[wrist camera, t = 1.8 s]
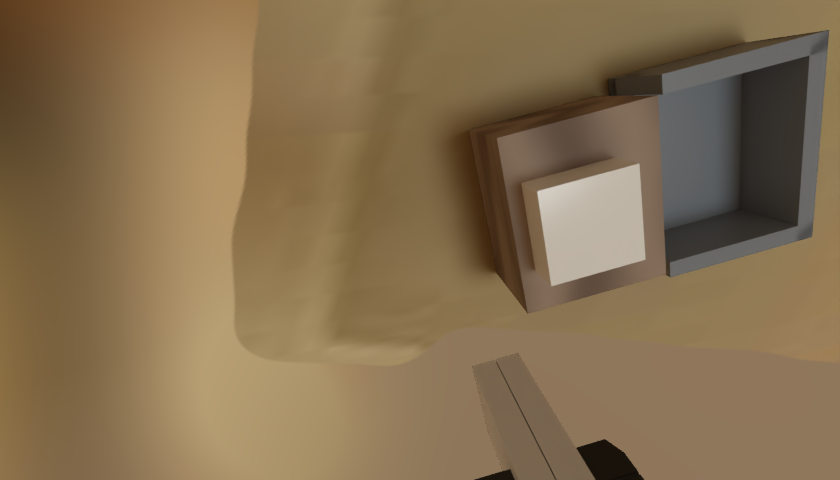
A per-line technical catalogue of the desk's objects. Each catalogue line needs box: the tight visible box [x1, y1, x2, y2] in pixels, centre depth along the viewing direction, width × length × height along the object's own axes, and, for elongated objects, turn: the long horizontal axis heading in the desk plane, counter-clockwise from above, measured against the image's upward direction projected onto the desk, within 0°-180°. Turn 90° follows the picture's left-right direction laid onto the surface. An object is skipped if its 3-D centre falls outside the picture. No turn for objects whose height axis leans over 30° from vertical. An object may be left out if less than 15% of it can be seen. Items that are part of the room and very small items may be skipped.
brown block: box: [469, 95, 666, 313], centre depth 30 cm, size 10×12×7 cm
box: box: [608, 30, 829, 277], centre depth 31 cm, size 11×14×6 cm
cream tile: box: [521, 158, 646, 286], centre depth 26 cm, size 6×6×2 cm
